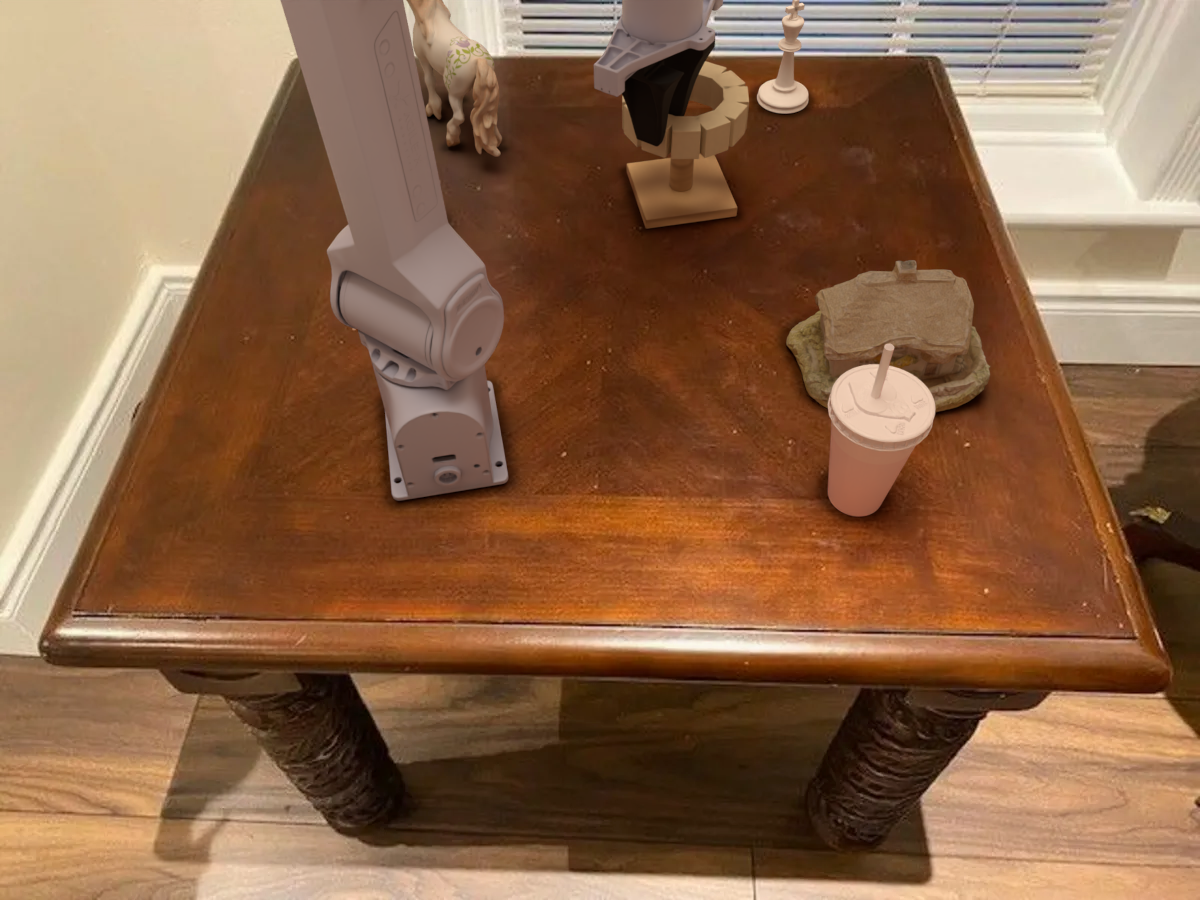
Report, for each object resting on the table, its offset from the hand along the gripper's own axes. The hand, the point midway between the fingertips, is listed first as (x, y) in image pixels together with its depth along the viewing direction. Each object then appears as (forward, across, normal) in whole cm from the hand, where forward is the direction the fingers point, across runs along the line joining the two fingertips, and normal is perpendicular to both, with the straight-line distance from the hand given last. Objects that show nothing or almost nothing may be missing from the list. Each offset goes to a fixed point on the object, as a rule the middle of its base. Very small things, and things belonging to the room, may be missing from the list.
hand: (658, 131), depth 81 cm
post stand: (+9, +5, 0) cm, 10 cm away
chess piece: (+9, +22, 0) cm, 24 cm away
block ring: (+1, +4, 0) cm, 4 cm away
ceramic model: (+9, -4, -23) cm, 25 cm away
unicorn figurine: (+9, 0, +25) cm, 27 cm away
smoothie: (+9, -17, -26) cm, 33 cm away
